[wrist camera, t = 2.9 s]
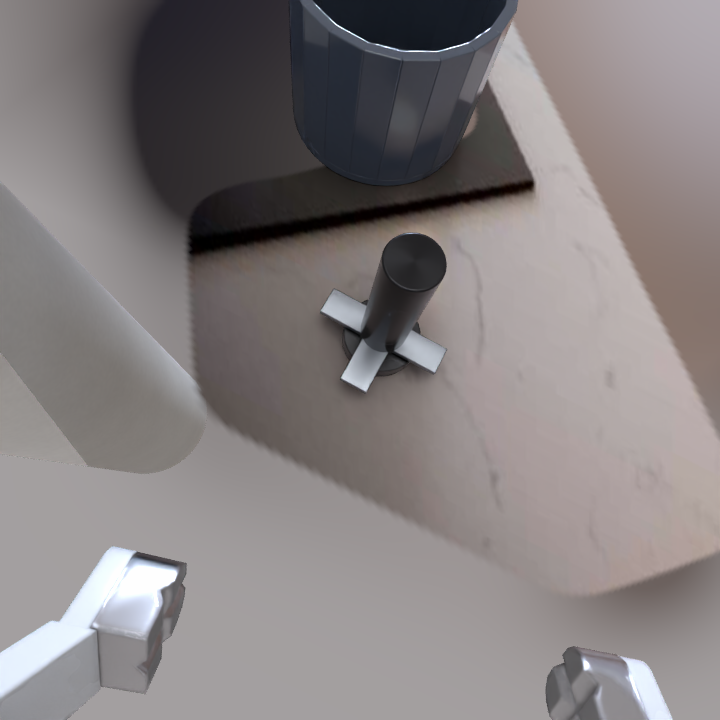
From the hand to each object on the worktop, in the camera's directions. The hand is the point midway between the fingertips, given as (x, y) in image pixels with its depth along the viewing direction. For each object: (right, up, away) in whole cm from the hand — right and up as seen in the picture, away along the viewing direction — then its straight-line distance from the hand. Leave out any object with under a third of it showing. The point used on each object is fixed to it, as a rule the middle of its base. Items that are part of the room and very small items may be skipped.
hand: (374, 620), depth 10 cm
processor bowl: (+1, +22, +23) cm, 32 cm away
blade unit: (+1, +7, +19) cm, 20 cm away
